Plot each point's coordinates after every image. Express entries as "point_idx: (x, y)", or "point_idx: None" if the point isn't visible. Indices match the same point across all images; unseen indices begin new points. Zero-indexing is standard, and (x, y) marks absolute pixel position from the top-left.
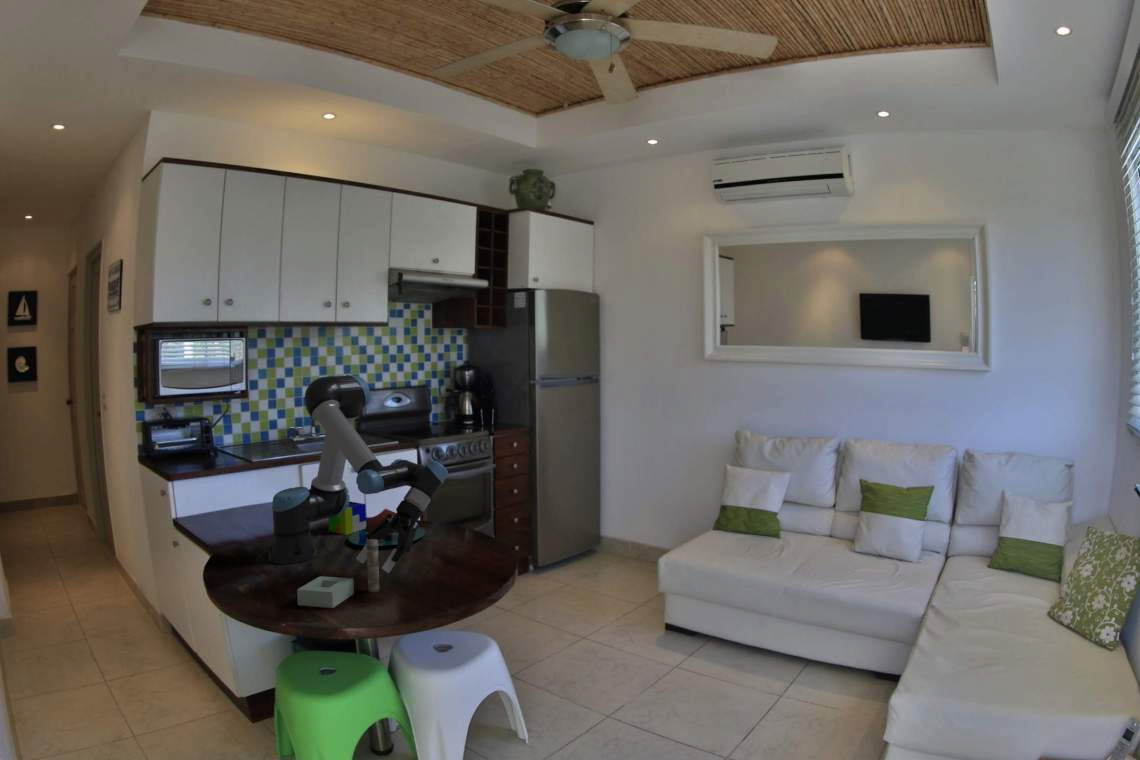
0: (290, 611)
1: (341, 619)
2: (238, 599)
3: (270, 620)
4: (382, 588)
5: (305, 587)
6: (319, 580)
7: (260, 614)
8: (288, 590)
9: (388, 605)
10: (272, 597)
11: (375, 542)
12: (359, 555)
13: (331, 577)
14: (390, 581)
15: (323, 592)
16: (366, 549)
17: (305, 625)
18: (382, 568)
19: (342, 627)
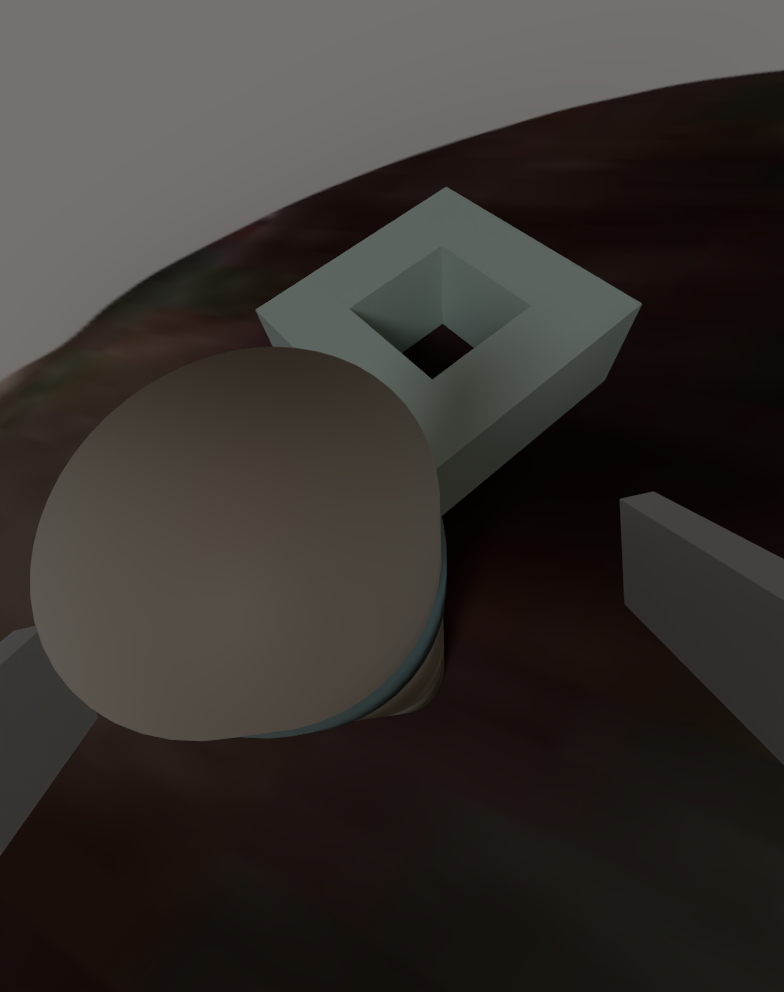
0: None
1: (123, 379)
2: (684, 116)
3: (344, 186)
4: (401, 747)
5: (452, 218)
6: (541, 289)
7: (436, 166)
8: (715, 261)
9: None
10: (635, 204)
11: (58, 567)
12: (664, 519)
13: (563, 357)
14: (541, 909)
15: (307, 281)
16: (761, 632)
17: (191, 265)
18: (29, 631)
19: (43, 363)
